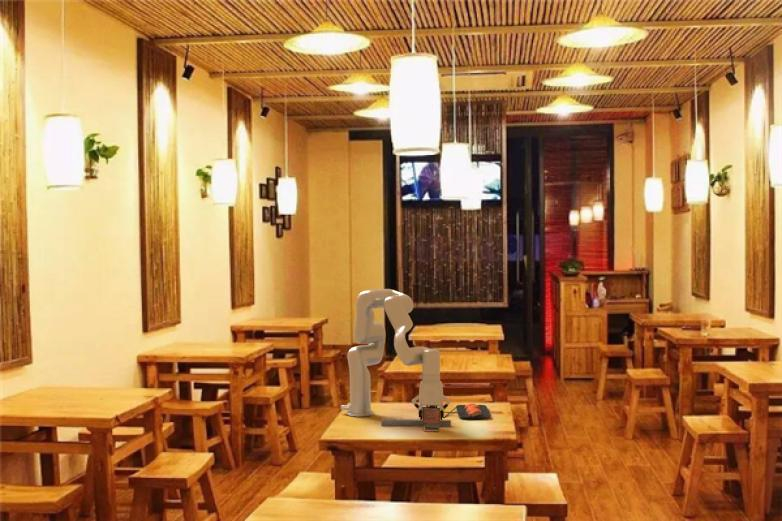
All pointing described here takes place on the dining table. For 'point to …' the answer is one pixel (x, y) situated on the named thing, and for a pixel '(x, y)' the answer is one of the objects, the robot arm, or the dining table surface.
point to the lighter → (431, 416)
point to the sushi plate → (471, 411)
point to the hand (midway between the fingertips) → (431, 419)
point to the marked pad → (431, 429)
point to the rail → (409, 422)
